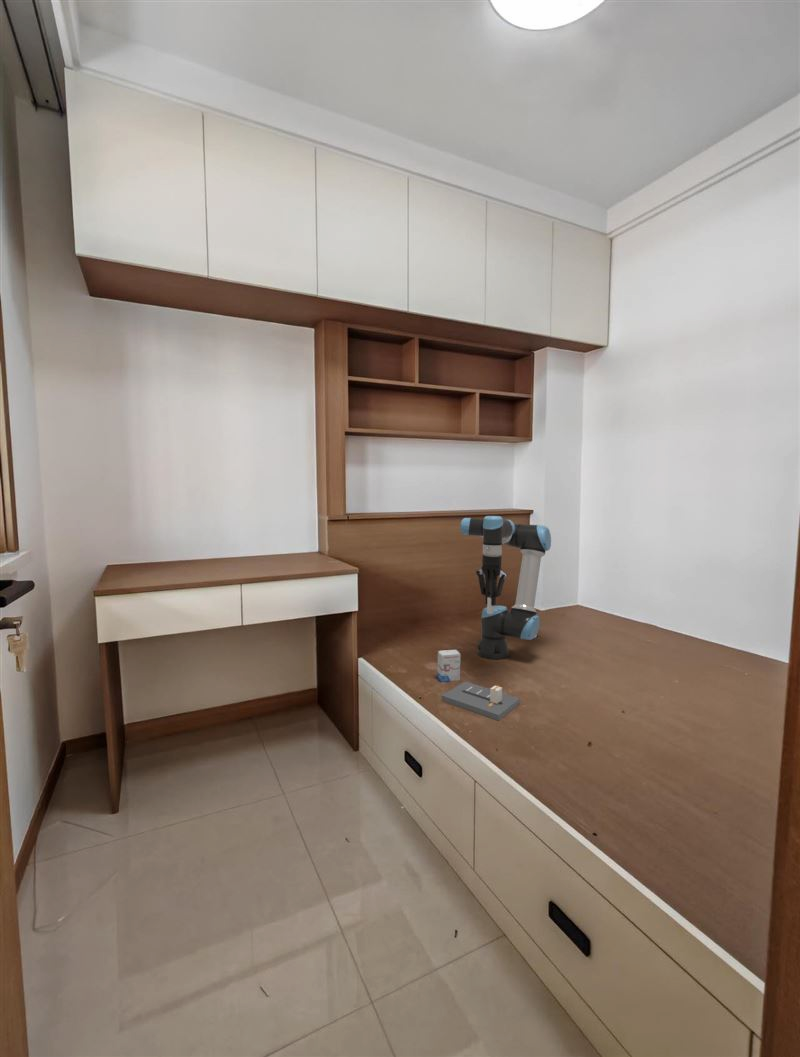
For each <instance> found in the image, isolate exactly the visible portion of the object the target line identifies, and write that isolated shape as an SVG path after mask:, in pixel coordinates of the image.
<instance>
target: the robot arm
mask: <svg viewBox="0 0 800 1057" xmlns="http://www.w3.org/2000/svg"><path fill="white" fill-rule="evenodd" d="M459 527H460V532H461V534H462V535H463V536H472V537H473V536H474V537H477V538H478V537H479V538H482V554H483V555H482V558H481V560H482V562H481V563H482V565H481V568H480V569H478V570H476V571H475V572H476V573H475V574H476V575H477V577H478V582H479V588H480V594H481V595H482V596H484V597H485V605H486V607H484V608H483V609H482V612H481V628H480V629H481V631H480V633H481V635H480V636H481V638H480V639H479V643H478V646H477V649H476V651H477V652H476V653H477V655H478V656H480V657H482V658H485V659H489V660H503V659H506V658H508V657H509V655H510V649H509V645H508V643H507V637H511V638H516V639H520V640H527V641H531V640H533V639H534V638H535V637H536V636H537V634H538V632H539V628H540V624H541V623H540V621H541V620H540V616H539V615H537V614H538V612H537V610H536V609H535V605H536V604H535V603H536V595H537V589H538V581H539V574H540V567H541V562H542V558H543V557H544V556H545V555H546V552H547V551H549V550H550V549H551V547H552V535H551V532H550V529H549V527H548V526H546V525H541V524H540V525H539V524H522V523H514V522H513V521H512V520H510V519H506V518H505V519H504V518H503V517H502V516H499V515H486V516H485V517H483V518H479V517H478V518H476V517H464V518H462V520H461V522H460V526H459ZM503 545H505V546H509V547H511V548H512V547H513V548H517V549H519V551H520V553H521V554H522V558H521V564H520V570H519V578H518V585H517V591H516V597H515V598H516V599H515V604H514V605H512V606H511V609H510V610H508V607H507V606H504V605H496V602H497V598H499V597H501V594H502V591H503V588H504V583H505V579H506V578H507V577H508V574H507V573H505V572H503V569H502V561H503V560H502V558H503V557H502V554H503V548H502V547H503ZM498 577H499V578H498Z"/></svg>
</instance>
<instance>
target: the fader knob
mask: <svg viewBox="0 0 800 1057" xmlns="http://www.w3.org/2000/svg"><path fill="white" fill-rule="evenodd" d="M489 689H490V702H493V703H496V704H498V703H499V702H501V701H502V693H503V687H501V686H500V685H493V686H492V687H490V688H489Z"/></svg>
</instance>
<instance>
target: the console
mask: <svg viewBox="0 0 800 1057" xmlns="http://www.w3.org/2000/svg"><path fill="white" fill-rule="evenodd" d="M441 701H442V702H445V703H447V704H450V705H453V706H456V707H459V708H462V709H463V710H464V709H465V710H467V711H470V712H473V713H475V714H479V715H482V716H485V717H487V718H490V719H492V720H495V721H498V722H499V721H500V720H501V719H502V718H504V717H505V716H506V715H507V714H509V713H510V712H511V711H512V710H514V709H515V708H517V706H519V705H520V704H521V698H520V697H516V696H514V695H510V694H507V693H504V692H502V701H501V702H499V703H498V704H496V703H493V702H490V688H489V687H485V686H481V685H478V684H476V683H472V682H468V681H466V680H465V681H463V682H462V683H459V684H458V685H455V687H453V688H451V689H450V690H448V691H447V692H445V693H443V694H442V695H441Z"/></svg>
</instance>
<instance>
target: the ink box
mask: <svg viewBox="0 0 800 1057" xmlns="http://www.w3.org/2000/svg"><path fill="white" fill-rule="evenodd" d="M461 656H462V655H461V653H460V651H459V650H457V649H447V650H439V651H437V666H436V668H437V670H436V672H437V674H436V677H437V679H438V680H439V681H440V682H441V683H443V682H444V683H445V682H455V681H460V679H461V676H460V675H461Z"/></svg>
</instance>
